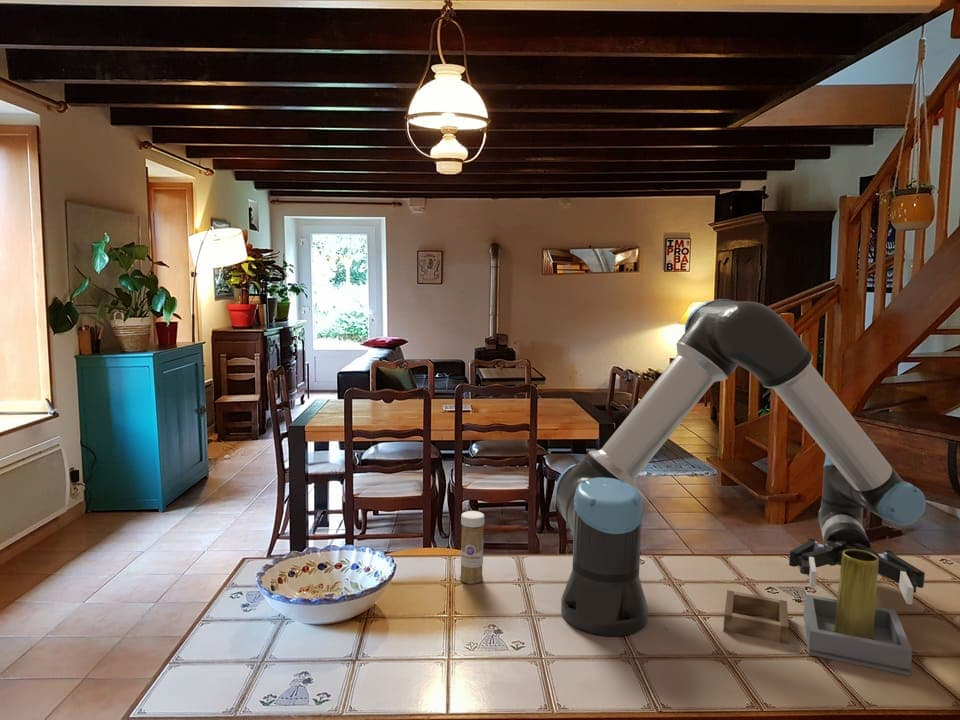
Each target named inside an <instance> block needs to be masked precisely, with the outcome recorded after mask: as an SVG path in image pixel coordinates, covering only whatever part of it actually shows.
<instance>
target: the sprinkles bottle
mask: <svg viewBox="0 0 960 720" xmlns="http://www.w3.org/2000/svg"><path fill="white" fill-rule="evenodd" d="M460 515H461V516H460V518H461V519H460V525H461V545H460V546H461V548H460V577H459V579H460V580H461V582H463V583H465V584H470V585H473V584H478V583H480V582H482V581H483V577H484V576H483V565H484V564H483V563H484V526H485V514H484V513H482V512H481V511H478V510H469V511H468V510H467V511H465V512H462V514H460Z"/></svg>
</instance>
